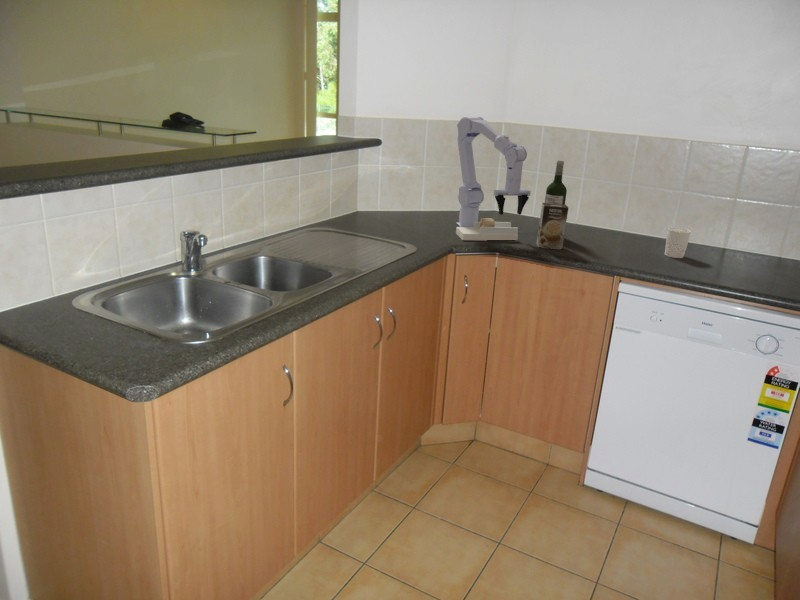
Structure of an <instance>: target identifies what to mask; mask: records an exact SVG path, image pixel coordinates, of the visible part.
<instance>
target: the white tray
mask: <svg viewBox="0 0 800 600" xmlns="http://www.w3.org/2000/svg"><path fill="white" fill-rule="evenodd" d="M455 229H456V230H455V234H456V235H457V237H459V238H460V240H461V241H487V240H517V241H518V237H519V233H518V232H519V227H518V226H517V227H515V226H513V227H512V222H511V221H495V227H480V221H478V222H474V227H460V226H456V227H455Z"/></svg>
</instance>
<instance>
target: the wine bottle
mask: <svg viewBox="0 0 800 600" xmlns="http://www.w3.org/2000/svg"><path fill="white" fill-rule="evenodd" d="M564 164H565V162H564V160H559V159H558V160H557V161H556V167H555V172H554V179H553V181H552V182H551V183H550V184H549V185H547V187H546V189H545V198H544V203H552V204H563V205H566V199H567V192H568V191H567V187H566V186H565V184H564V183H563V173H564V166H565V165H564Z"/></svg>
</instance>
